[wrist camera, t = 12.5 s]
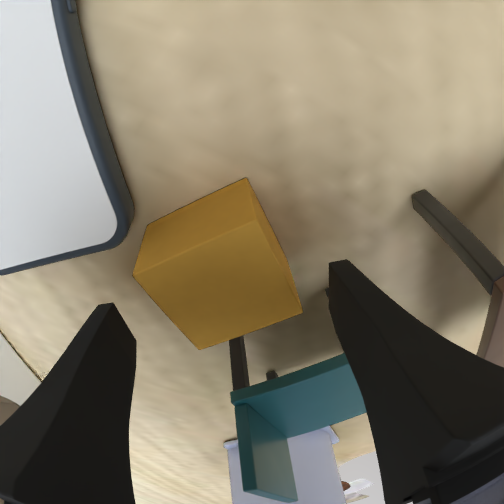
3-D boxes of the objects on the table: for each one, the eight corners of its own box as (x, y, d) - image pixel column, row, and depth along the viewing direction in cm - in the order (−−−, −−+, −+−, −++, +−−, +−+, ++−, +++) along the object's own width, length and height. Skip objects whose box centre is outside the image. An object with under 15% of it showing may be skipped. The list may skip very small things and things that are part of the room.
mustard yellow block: (199, 296, 15) (198, 350, 12) (146, 224, 12) (131, 276, 10) (287, 260, 14) (303, 313, 12) (246, 176, 12) (256, 219, 9)
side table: (421, 339, 20) (460, 417, 14) (410, 194, 13) (503, 294, 8) (500, 295, 19) (545, 359, 13) (516, 148, 12) (606, 213, 6)
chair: (268, 378, 20) (289, 503, 13) (224, 325, 16) (239, 490, 9) (357, 345, 19) (402, 469, 12) (337, 281, 15) (402, 444, 8)
